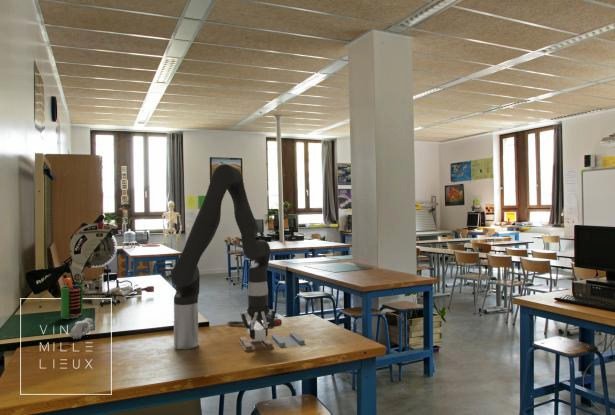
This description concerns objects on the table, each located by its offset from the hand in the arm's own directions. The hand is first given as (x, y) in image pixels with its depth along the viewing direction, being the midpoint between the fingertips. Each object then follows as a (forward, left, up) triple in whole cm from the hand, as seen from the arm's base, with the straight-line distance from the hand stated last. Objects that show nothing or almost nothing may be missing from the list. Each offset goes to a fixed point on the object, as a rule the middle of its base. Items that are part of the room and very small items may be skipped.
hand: (258, 338), depth 171 cm
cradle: (0, +4, -5) cm, 7 cm away
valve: (+8, +38, -6) cm, 39 cm away
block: (0, +4, 0) cm, 4 cm away
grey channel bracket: (+13, +4, -5) cm, 14 cm away
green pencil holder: (-76, +87, -6) cm, 116 cm away
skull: (-66, +48, -6) cm, 82 cm away
